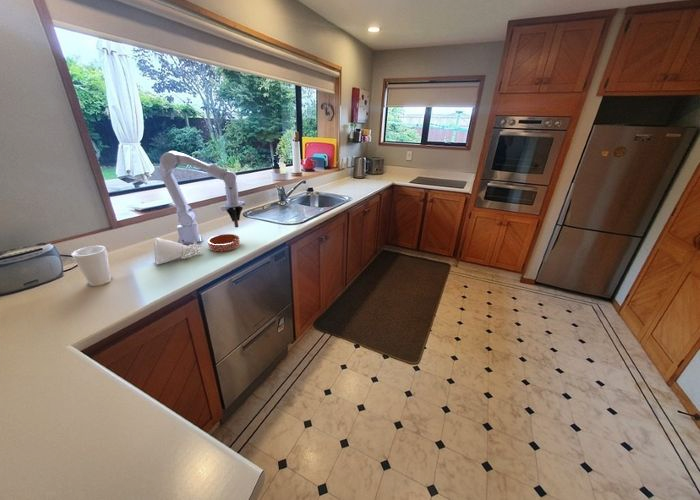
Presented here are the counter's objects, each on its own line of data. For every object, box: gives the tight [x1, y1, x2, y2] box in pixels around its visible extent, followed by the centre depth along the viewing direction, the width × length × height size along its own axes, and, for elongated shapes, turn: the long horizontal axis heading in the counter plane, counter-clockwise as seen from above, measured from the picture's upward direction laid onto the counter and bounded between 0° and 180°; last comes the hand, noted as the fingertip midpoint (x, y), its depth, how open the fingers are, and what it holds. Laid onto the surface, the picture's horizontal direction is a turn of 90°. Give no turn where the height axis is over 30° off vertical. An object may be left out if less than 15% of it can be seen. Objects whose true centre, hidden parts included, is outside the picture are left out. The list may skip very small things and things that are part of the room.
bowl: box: [207, 233, 241, 253], centre depth 140 cm, size 14×14×4 cm
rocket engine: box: [153, 237, 203, 265], centre depth 126 cm, size 12×12×18 cm
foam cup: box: [70, 245, 112, 287], centre depth 104 cm, size 10×9×13 cm
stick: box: [233, 208, 239, 228], centre depth 147 cm, size 2×2×10 cm
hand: (235, 220), depth 148 cm, fingers closed on stick, 2 cm apart
